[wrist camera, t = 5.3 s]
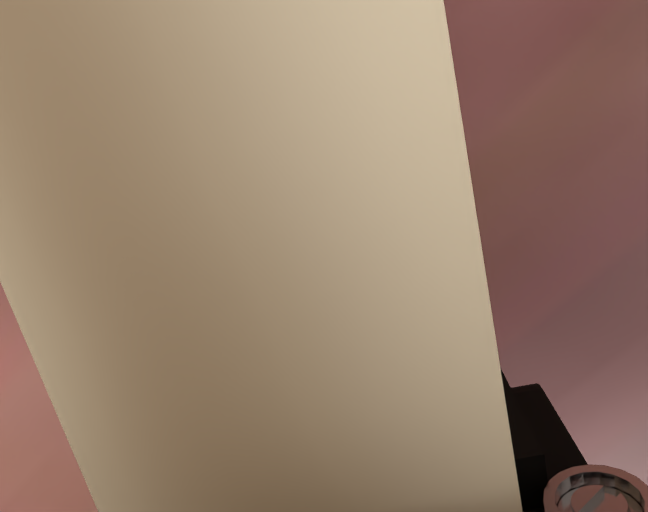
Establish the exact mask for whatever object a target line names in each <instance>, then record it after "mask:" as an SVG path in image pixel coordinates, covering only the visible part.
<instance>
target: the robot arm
mask: <svg viewBox="0 0 648 512" xmlns="http://www.w3.org/2000/svg"><path fill="white" fill-rule="evenodd" d="M500 369H501V368H500ZM501 375H502V382H503V388H504V395H505V401H506V408H507V414H508V421H509V427H510V433H511V440H512V446H513V453H514V459H515V466H516V472H517V479H518V485H519V492H520V498H521V505H522V511H523V512H648V486H647V485H646V484H645V483H644V482H642V481H641V480H640V479H639V478H638V477H636V476H634V475H632V474H630V473H628V472H626V471H623V470H621V469H617V468H613V467H609V466H605V465H588V464H587V462H586V461H585V459H584V457H583V456H582V454H581V452H580V451H579V449H578V447H577V446H576V444H575V442H574V441H573V439H572V437H571V436H570V434H569V432H568V431H567V429H566V427H565V426H564V424H563V422H562V421H561V419H560V417H559V416H558V414H557V412H556V411H555V409H554V407H553V406H552V404H551V402H550V401H549V399H548V397H547V396H546V394H545V392H544V391H543V389H542V388H541V386H540V385H539V384H537V383H536V384H530V385H525V386H519V387H514V388H510V386H509V384H508V382H507V380H506V378H505V376H504V374H503V372H502V370H501Z"/></svg>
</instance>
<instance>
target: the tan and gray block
mask: <svg viewBox="0 0 648 512" xmlns="http://www.w3.org/2000/svg"><path fill="white" fill-rule="evenodd" d="M0 282H1V284H2V287H3V289H4V291H5V294H6V296H7V298H8V301H9V303H10V305H11V308H12V310H13V312H14V315H15V317H16V319H17V322H18V324H19V327H20V329H21V331H22V334H23V336H24V338H25V341H26V343H27V345H28V348H29V350H30V352H31V355H32V357H33V359H34V362H35V364H36V366H37V369H38V371H39V373H40V376H41V378H42V381H43V383H44V385H45V388H46V390H47V392H48V395H49V397H50V399H51V402H52V404H53V406H54V409H55V411H56V413H57V416H58V418H59V420H60V423H61V425H62V427H63V430H64V432H65V435H66V437H67V439H68V442H69V444H70V446H71V449H72V451H73V453H74V456H75V458H76V460H77V463H78V465H79V467H80V470H81V472H82V474H83V477H84V479H85V481H86V484H87V486H88V489H89V491H90V493H91V496H92V498H93V500H94V503H95V505H96V507H97V510H98V512H523V511H522V505H521V498H520V492H519V485H518V479H517V472H516V466H515V459H514V453H513V446H512V440H511V433H510V427H509V421H508V414H507V408H506V401H505V395H504V388H503V382H502V375H501V369H500V362H499V356H498V350H497V343H496V337H495V330H494V324H493V317H492V311H491V304H490V298H489V291H488V285H487V278H486V272H485V266H484V259H483V253H482V246H481V240H480V233H479V227H478V220H477V214H476V207H475V201H474V195H473V188H472V182H471V175H470V169H469V162H468V156H467V149H466V143H465V136H464V130H463V123H462V117H461V111H460V104H459V98H458V91H457V85H456V78H455V72H454V65H453V59H452V52H451V46H450V40H449V33H448V27H447V20H446V14H445V7H444V1H443V0H0Z"/></svg>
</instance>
